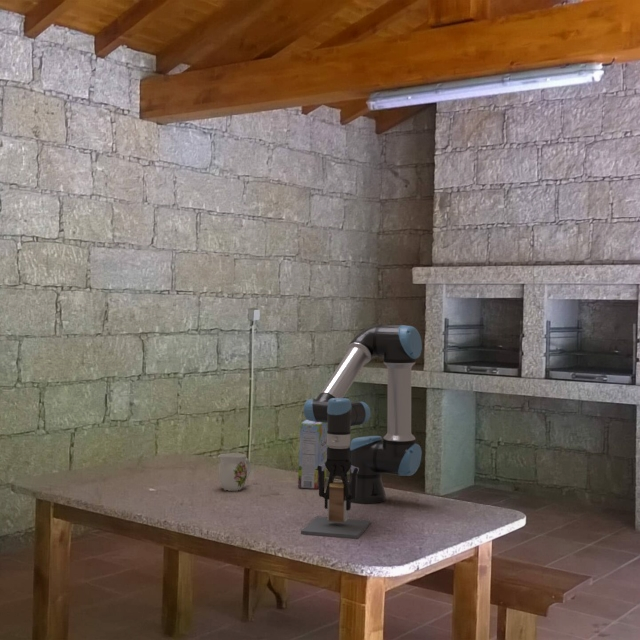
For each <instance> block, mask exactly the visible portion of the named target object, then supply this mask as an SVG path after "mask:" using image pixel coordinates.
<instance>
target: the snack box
mask: <svg viewBox="0 0 640 640" xmlns="http://www.w3.org/2000/svg"><path fill="white" fill-rule="evenodd" d="M299 430H300V431H299V452H298V455H299V456H298V478H297V479H298V480H297V487H298V488H299V489H310V490H311V489H312V490H318V489H319V472H318V469H317V467H318V466H319V465H323V464H325V463H326V461H327V448H328V445H327V423H324V422H314V421H309V420H307V419H305V420H303V421H302V422H300V429H299ZM326 479H327V468H325V471H324V481H325V480H326Z"/></svg>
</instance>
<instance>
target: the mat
mask: <svg viewBox="0 0 640 640" xmlns="http://www.w3.org/2000/svg"><path fill="white" fill-rule="evenodd" d="M370 525H371V520H369V519H357V518H347V520H346V521H344V522H330V521H329V520H327V516H316V517H315V518H313V519H312V520H311V521H310V522H309V523H308V524H307V525H306V526H304V528H302V529H301V530H300V534H301V535H310V536H317V537H318V536H321V537H331V538H332V537H334V538H345V539H356V540H357V539H359V538H360V537H361V536H362V535H363V533H364V532H365V531H366V529H367V528H369V526H370Z"/></svg>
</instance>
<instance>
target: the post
mask: <svg viewBox="0 0 640 640" xmlns="http://www.w3.org/2000/svg"><path fill="white" fill-rule="evenodd" d="M345 499H346V497H345V492H344V484H343V482H342V481H336V480H334V481H333V482H332V483H330V485H329V521H330V522H344V521H343V510H344V500H345Z"/></svg>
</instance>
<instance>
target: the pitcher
mask: <svg viewBox="0 0 640 640" xmlns="http://www.w3.org/2000/svg"><path fill="white" fill-rule="evenodd" d="M217 458H218V459H220V462H219V466H218V479H219V483H220V486H221V487H222V489H223V490H224V491H226V490H228V492H237V491H238V490H239V491H241V490H242V489H243V487H244V486H245V483H246V481H247V479H248V477H249V476H250V474H251V469H252V465H251V462H250V459H249V458H247V455H246V454H244V453H240V452H239V453H237V452H234V453H233V452H232V453H231V452H229V453H221V454H219V455H217ZM239 491H238V492H239Z"/></svg>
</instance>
